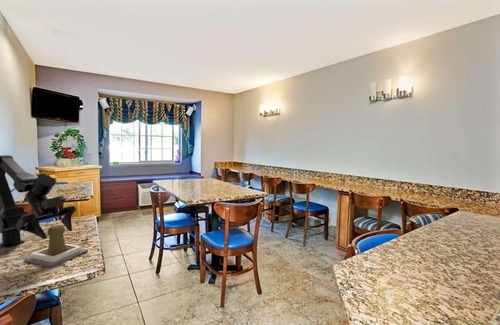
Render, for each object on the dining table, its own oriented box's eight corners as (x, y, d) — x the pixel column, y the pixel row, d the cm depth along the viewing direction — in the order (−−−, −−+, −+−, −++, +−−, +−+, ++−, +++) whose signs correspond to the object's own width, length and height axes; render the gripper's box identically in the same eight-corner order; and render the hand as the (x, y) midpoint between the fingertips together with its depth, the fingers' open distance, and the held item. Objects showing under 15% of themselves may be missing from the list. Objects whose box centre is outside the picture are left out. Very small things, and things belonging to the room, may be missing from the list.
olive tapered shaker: (48, 259, 95) (47, 229, 94) (45, 254, 99) (44, 226, 98) (68, 254, 99) (67, 226, 98) (64, 249, 103) (64, 222, 102)
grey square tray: (24, 261, 94) (24, 254, 94) (62, 246, 108) (62, 240, 108) (51, 267, 90) (51, 260, 90) (87, 251, 103) (87, 245, 103)
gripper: (19, 193, 90) (40, 229, 87) (72, 186, 107) (92, 215, 104) (7, 213, 93) (26, 247, 90) (61, 202, 111) (79, 231, 107)
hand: (58, 234), depth 98 cm, fingers open, 9 cm apart
